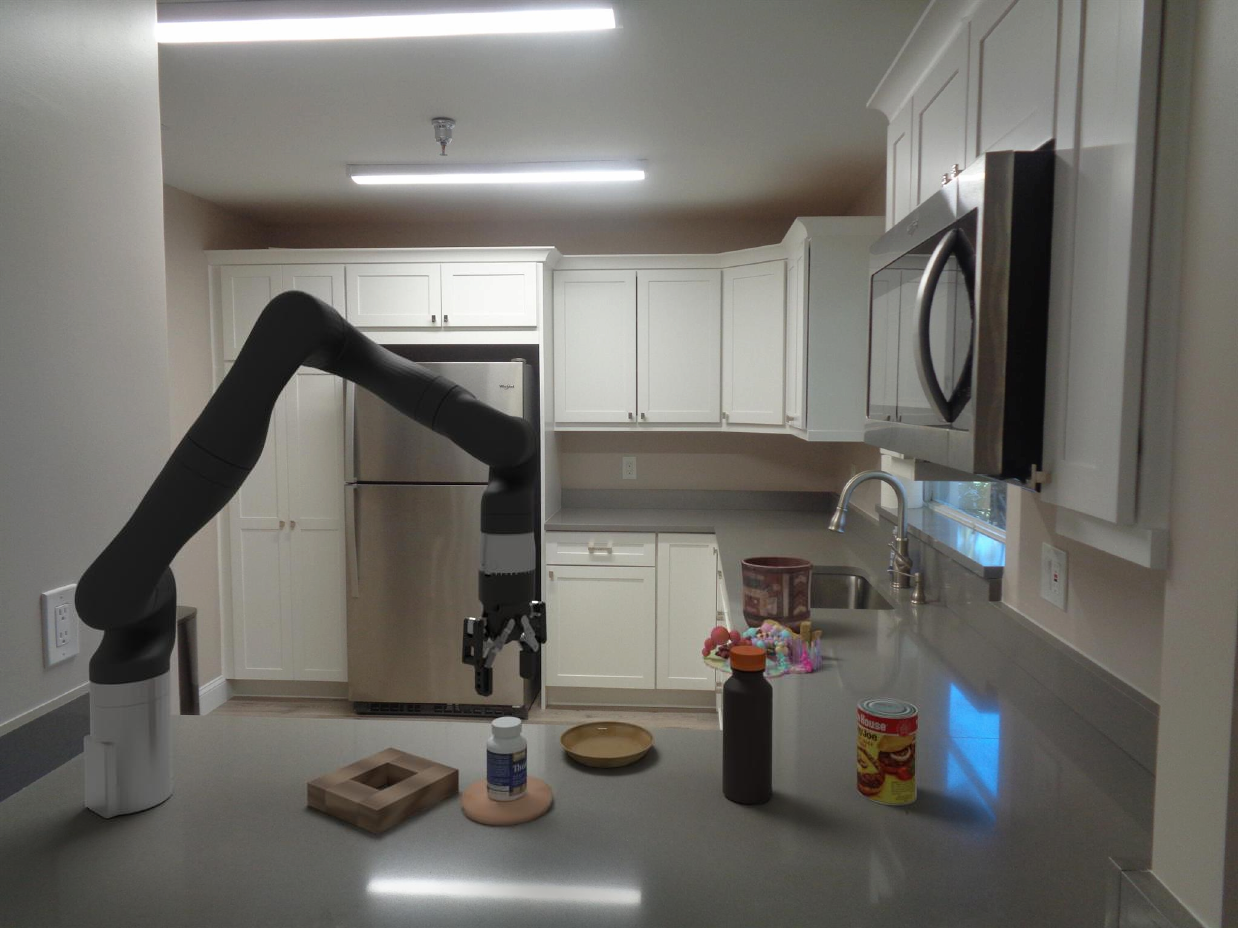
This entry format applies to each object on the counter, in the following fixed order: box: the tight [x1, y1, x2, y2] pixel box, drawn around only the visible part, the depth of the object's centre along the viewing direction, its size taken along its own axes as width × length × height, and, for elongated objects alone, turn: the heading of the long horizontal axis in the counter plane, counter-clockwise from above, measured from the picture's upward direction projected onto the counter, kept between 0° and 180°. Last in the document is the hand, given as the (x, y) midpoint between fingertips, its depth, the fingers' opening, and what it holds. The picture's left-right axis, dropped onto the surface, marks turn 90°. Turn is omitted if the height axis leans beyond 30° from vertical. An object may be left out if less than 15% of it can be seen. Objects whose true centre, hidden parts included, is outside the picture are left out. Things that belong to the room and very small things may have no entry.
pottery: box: [741, 555, 814, 635], centre depth 194 cm, size 18×18×18 cm
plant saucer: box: [558, 720, 655, 769], centre depth 120 cm, size 15×15×3 cm
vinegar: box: [721, 646, 774, 805], centre depth 106 cm, size 7×7×20 cm
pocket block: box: [306, 747, 460, 835], centre depth 105 cm, size 14×14×3 cm
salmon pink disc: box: [461, 775, 553, 826], centre depth 103 cm, size 12×12×1 cm
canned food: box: [856, 696, 919, 807], centre depth 106 cm, size 8×8×12 cm
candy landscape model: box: [701, 619, 823, 679], centre depth 169 cm, size 25×24×9 cm
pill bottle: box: [486, 716, 528, 801], centre depth 103 cm, size 5×5×10 cm
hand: (506, 686), depth 103 cm, fingers open, 8 cm apart
